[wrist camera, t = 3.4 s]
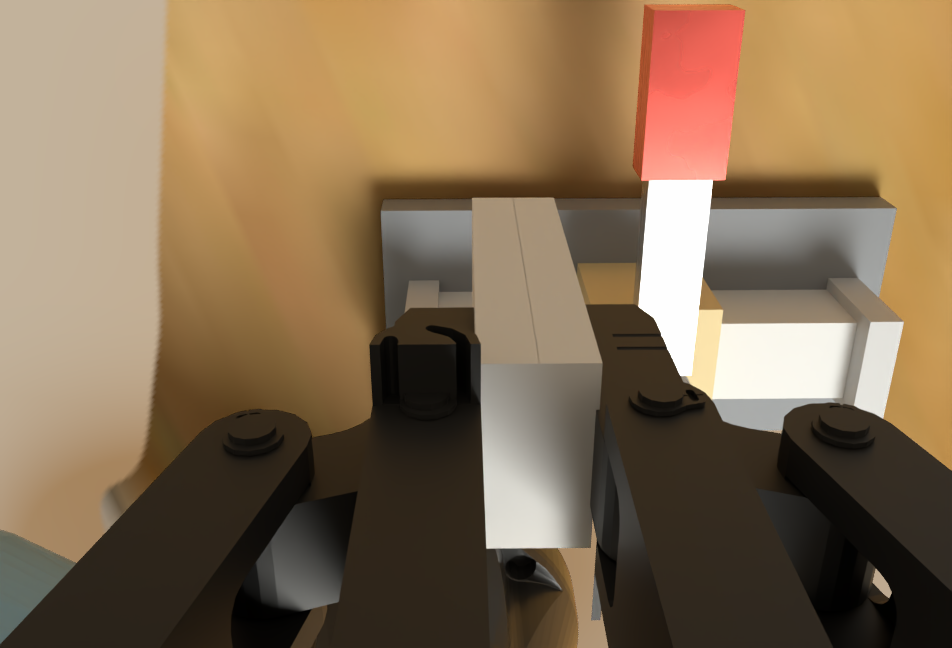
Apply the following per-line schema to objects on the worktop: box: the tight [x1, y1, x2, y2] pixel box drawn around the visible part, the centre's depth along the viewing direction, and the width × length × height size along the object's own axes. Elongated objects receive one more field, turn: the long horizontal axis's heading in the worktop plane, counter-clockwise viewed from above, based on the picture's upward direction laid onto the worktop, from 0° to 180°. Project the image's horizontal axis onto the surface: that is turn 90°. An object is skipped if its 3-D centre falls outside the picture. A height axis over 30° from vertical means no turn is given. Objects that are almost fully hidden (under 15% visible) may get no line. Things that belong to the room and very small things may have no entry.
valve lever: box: [633, 4, 745, 384], centre depth 30 cm, size 3×14×2 cm, turn 0°
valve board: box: [381, 197, 904, 430], centre depth 36 cm, size 20×10×6 cm, turn 90°
